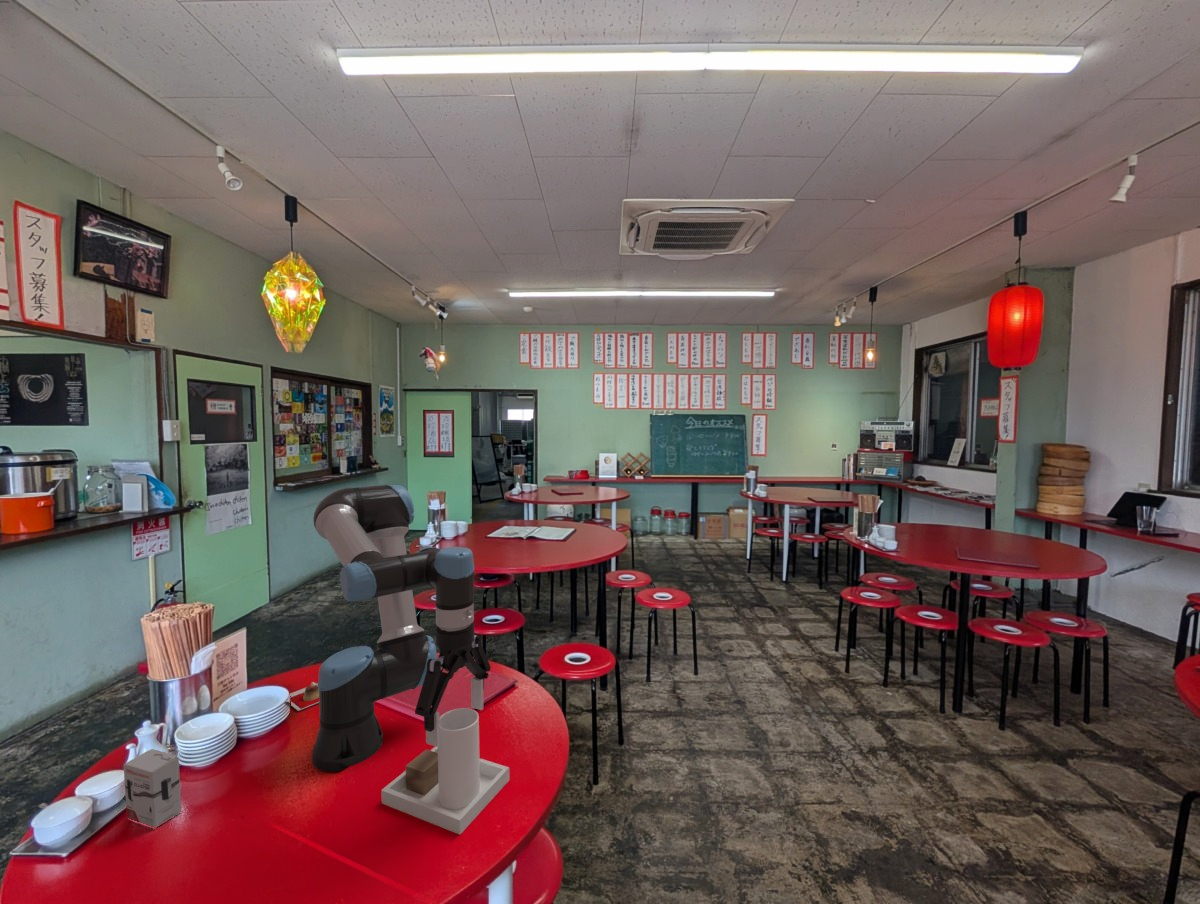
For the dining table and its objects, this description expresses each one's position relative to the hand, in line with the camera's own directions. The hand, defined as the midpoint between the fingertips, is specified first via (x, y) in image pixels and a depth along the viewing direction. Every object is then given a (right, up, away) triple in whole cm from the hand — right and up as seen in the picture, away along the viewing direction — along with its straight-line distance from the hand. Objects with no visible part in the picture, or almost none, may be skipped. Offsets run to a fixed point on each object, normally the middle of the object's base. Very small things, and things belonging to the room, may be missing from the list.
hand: (456, 725), depth 102 cm
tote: (-2, -15, +1) cm, 16 cm away
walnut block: (-8, -15, +4) cm, 17 cm away
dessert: (-54, -16, +42) cm, 70 cm away
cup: (+1, -15, 0) cm, 15 cm away
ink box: (-59, -17, -4) cm, 62 cm away
